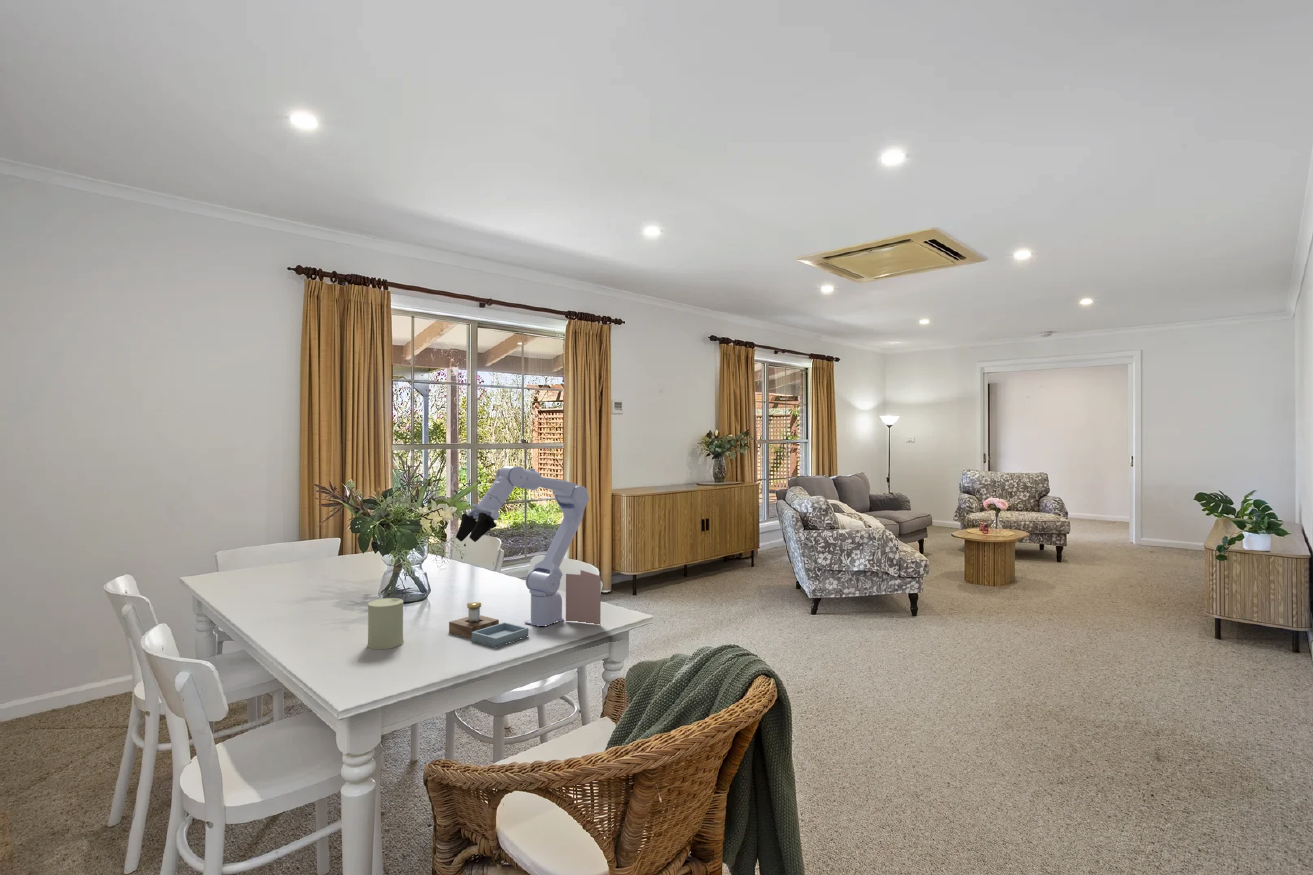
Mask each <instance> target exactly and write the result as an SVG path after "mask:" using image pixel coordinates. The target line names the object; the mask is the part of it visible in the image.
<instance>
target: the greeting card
mask: <svg viewBox="0 0 1313 875" xmlns="http://www.w3.org/2000/svg"><path fill="white" fill-rule="evenodd" d="M601 582H602V580H601V575H598V574H594V573H592V572H589V571H586V570H582V569H580V574H573V573H565V622H566V621H578V622H586V623H594V624H600V625H601V608H602V607H601V605H602V604H601V599H602V598H601V595H602V594H601V586H602V584H601Z"/></svg>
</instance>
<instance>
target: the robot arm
mask: <svg viewBox="0 0 1313 875" xmlns="http://www.w3.org/2000/svg"><path fill="white" fill-rule="evenodd" d="M515 488H520V489H524V490H525V489H526V490H529V491H530V490H531V491H535V490H538V489H539V488H543V489H547V490H550V491H552V495H553V496H554V500H555V501H556V503H557V505H558V506H559V508H560V512H562V513H563V519H562V521H561V523H560V525H559V527H558V529H557V530H556V533H555V535H554V537H553V539H552V541H551V543H550V544H549V547H548V549H547V551H546V553H545V555H544V557H543V559H542V560H540V561H538V562H537V563H535V565H534V566H533V568H532V569H531V570H530V571H528V574H527V575H526V577H525V585H526V588H527V589H528V590H529V594H530V619H528V620H525V621H524V624H527V625H532V626H535V625H538V626H537V627H539V626H545V625H548V626H551V625H553V624H552V623H554V622H556V621H560V622H563V621H564V620H565V619H564V618H563V599H562V595H561V594H560V593H559V592H558V590H560V589H559V588H560V586H561V579H562V577H563V572H562V570H561V568H560V567H561V564H562V562H563V560H564V558H565V555H566V554H567V552H568V550H569V548H570V546H571V544H572V541H573V540H574V537H575V535H576V532H578V529H579V526H580V525H581V522H582V520H583V518H584V512H585V509H586V508H587V505H588V502H589V500H590V498H589V493H588V490H587V488H586V487H585V486H583V485H578V484H577V483H574V482H571V481H567V480H562V479H556V478H550V477H543V476H542V475H541V473H540V472H538V471H536V469H535V468H528V469H527V468H523V466H520V465H519V466H518V465H517V466H513V465H512V466H510V465H509V466H507V465H505V466H503V467H501V468H498V469H497V471H496V476H495V479H494V481H493V483H492V484H491V486H490V487H489V488H488V490H487V491H486V493H484V496H483V497H482V498H481V500H480V501H479V503H473V504H472V505H471V507H472V508H473V509H472V510H469V511H468V512H467V513H462V514H461V519H460V520H461V521H460V525H459V528H458V530H457V531H456V532H457V533H456V535H455V538H456V539H457V540H458V541H459V542H463V541H465V540H466V538H467V537H468V536H469V537H468V538H469V539H470V540H471V541H473V542H474V543H476V542H477V541H478V540H480V539H481V538H482V537H483V536H484V535H486V533H487V532H489V531H491V530H492V529H494V528H496V527H497V526H498V524H497V523H496V522H495V521H497V520H498V519H499V517H500V516H501V514H500V513H499V511H500V509H501V508H502V507H503V505H504V504H505V502H506V500H507V499H508V498H509V496H510V495H511V494H512V492H513V491H514V489H515ZM562 620H563V621H562ZM550 624H551V625H550ZM554 624H555V623H554ZM545 627H546V626H545Z"/></svg>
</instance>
